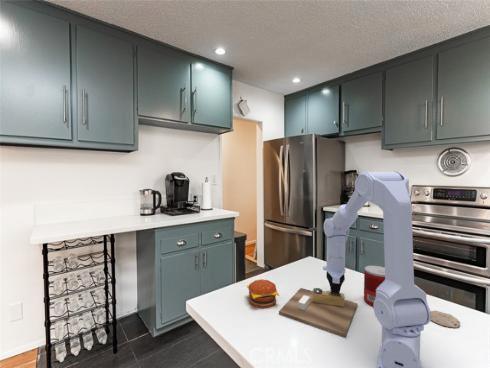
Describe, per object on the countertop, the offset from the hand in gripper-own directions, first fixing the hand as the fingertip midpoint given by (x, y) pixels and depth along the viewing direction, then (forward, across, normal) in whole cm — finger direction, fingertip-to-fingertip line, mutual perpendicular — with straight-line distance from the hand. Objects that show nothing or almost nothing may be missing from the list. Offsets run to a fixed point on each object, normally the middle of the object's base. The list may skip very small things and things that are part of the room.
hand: (335, 295), depth 82 cm
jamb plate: (+2, +7, -5) cm, 9 cm away
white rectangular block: (+1, +8, -9) cm, 12 cm away
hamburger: (+2, +7, -23) cm, 24 cm away
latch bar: (+1, +4, -2) cm, 4 cm away
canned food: (+2, -4, +13) cm, 14 cm away
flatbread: (+2, +1, +30) cm, 30 cm away
